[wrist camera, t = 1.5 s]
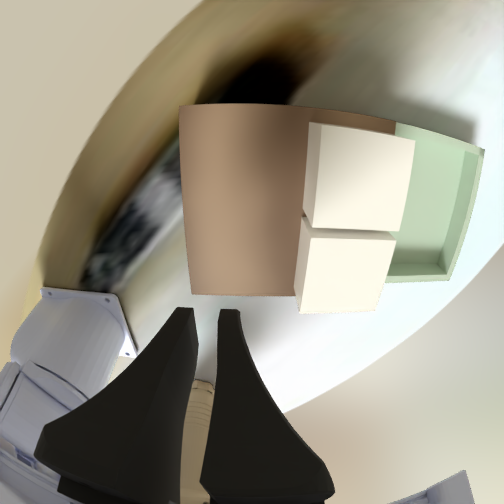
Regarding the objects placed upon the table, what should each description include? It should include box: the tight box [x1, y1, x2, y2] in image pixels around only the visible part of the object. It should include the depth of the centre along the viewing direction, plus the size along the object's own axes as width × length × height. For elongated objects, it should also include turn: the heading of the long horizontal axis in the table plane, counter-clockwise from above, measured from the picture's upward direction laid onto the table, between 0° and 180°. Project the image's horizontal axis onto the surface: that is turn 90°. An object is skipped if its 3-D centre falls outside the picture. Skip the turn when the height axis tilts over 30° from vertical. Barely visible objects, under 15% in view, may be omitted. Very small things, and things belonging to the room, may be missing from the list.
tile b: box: [303, 122, 415, 231], centre depth 12 cm, size 4×4×2 cm
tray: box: [385, 122, 485, 283], centre depth 17 cm, size 9×11×2 cm
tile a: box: [294, 217, 396, 314], centre depth 14 cm, size 4×4×2 cm
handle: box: [180, 380, 215, 504], centre depth 21 cm, size 5×6×15 cm
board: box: [179, 104, 396, 296], centre depth 16 cm, size 11×11×4 cm
